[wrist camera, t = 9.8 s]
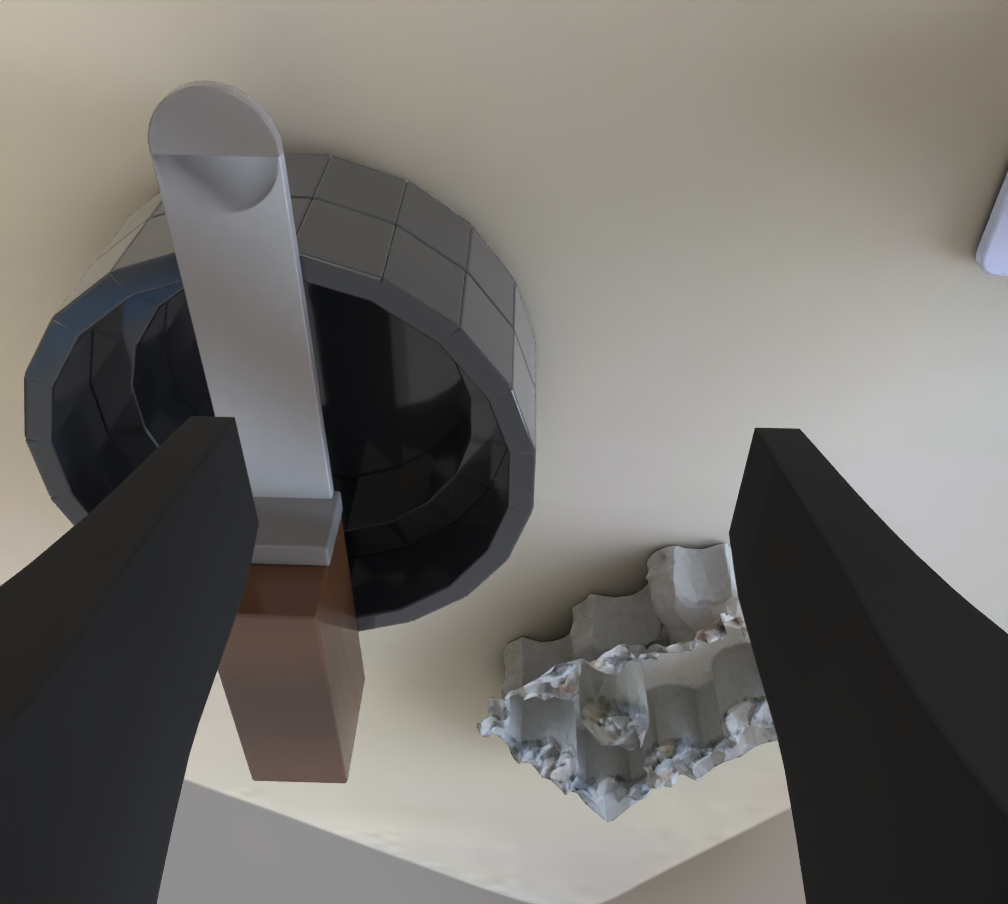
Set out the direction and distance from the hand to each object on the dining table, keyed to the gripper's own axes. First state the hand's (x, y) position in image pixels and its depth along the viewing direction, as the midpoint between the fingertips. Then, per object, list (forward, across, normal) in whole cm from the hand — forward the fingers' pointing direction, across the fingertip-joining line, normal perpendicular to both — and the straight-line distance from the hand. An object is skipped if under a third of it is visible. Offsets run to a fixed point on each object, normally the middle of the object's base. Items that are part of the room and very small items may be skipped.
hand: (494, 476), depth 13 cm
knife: (+5, +5, +5) cm, 9 cm away
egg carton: (+11, -5, +17) cm, 21 cm away
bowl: (+10, +5, +5) cm, 12 cm away
